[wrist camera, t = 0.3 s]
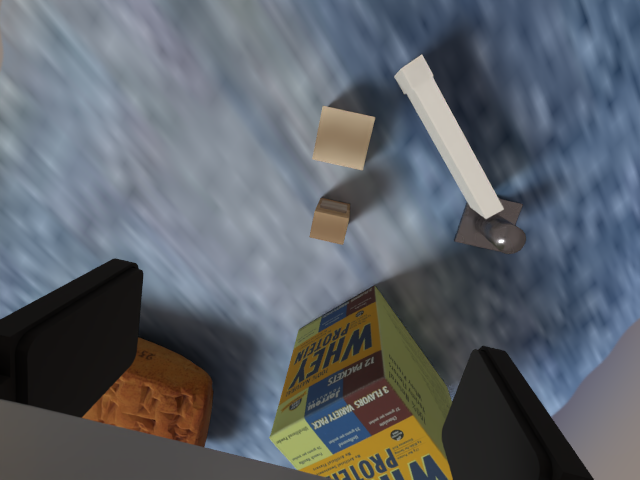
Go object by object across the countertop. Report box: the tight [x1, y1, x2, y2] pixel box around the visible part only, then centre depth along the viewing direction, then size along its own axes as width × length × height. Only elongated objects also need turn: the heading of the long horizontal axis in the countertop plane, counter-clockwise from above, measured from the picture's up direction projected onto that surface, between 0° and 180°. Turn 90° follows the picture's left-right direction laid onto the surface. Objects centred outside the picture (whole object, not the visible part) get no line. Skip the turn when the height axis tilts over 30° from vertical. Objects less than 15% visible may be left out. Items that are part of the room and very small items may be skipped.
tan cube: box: [312, 106, 375, 170], centre depth 34 cm, size 4×4×4 cm
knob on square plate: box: [454, 198, 526, 254], centre depth 34 cm, size 5×5×6 cm
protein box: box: [269, 286, 453, 480], centre depth 36 cm, size 10×15×16 cm
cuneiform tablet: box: [82, 337, 213, 447], centre depth 43 cm, size 22×17×8 cm
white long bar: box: [394, 55, 504, 219], centre depth 33 cm, size 14×2×5 cm, turn 33°
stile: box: [310, 198, 350, 245], centre depth 35 cm, size 3×3×6 cm
